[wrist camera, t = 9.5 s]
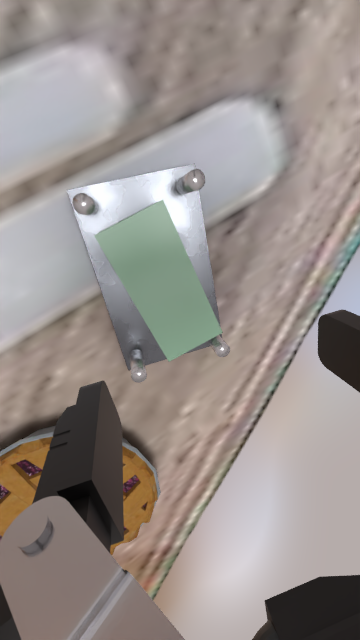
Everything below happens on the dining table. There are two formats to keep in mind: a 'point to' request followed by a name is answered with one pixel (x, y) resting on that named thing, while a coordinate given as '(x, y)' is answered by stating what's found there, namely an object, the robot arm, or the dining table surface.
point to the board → (160, 279)
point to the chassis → (186, 213)
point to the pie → (26, 467)
